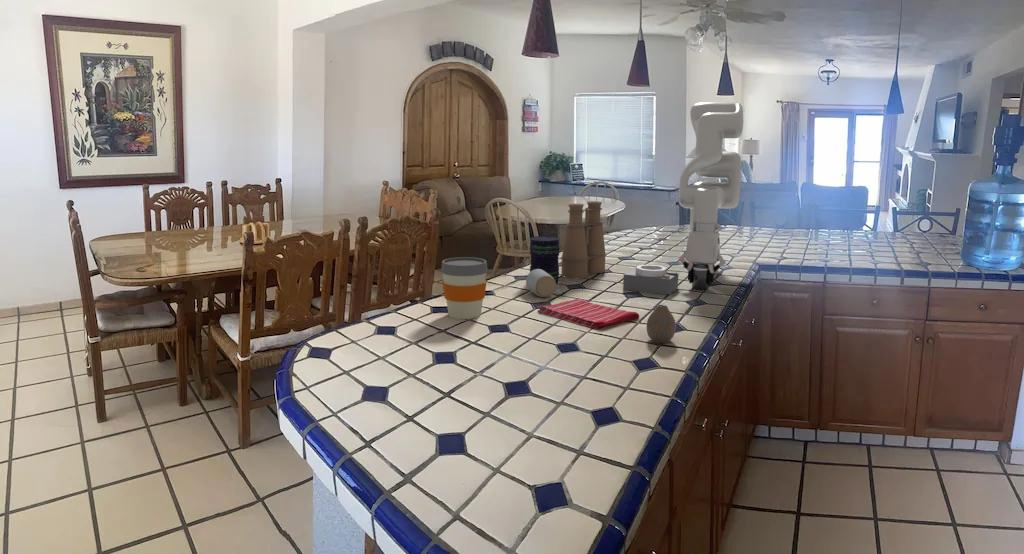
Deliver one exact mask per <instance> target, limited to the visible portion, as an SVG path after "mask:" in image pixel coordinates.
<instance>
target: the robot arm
mask: <svg viewBox="0 0 1024 554" xmlns="http://www.w3.org/2000/svg"><path fill="white" fill-rule="evenodd" d="M689 115H690V123H691V125H692V127H693V128H692V129H693V130H694V134H695V138H696V139H695V140H696V141H695V155H694V157H693V158H692V159H691V160H689V162H688V163H687V164H686V165H685V166H684V168H683V170H682V172H681V175H680V179H679V187H678V203H679V205H680V206H681V207H682V208H684V209H689V210H690V212H689V213H690V214H689V215H690V217H689V219H690V220H689V231H688V232H689V233H688V236H687V241H686V248H685V251H684V252H683V253H682V254H681V255H680V256H679V257H678V261H679V262H680V263H681V264H682V266H683V267H684V268H685V269H686V270H687V280H688V282H689V283H688V284H692V277H693V264H694V263H704V264H708V265H709V269H710V271H709V273H708V285H709V286H711V285H712V284H713V283H714V281H715V280H714V279H715V272H716V271H718V270H719V269H720V268H722V267H723V266H725V265H726V264H727V262H726V260H725V259H724V257H723V256H722V255H721V250H720V249H721V240H720V239H721V238H720V232H719V231H717V230H721V229H722V225H721V224H719V223H718V213H719V212H718V211H719V209H725V210H726V209H727V210H729V209H735V208H737V206H738V205H739V203H740V202H739V201H740V193H741V181H742V180H741V178H742V157H741V155H740V154H739V153H738V152H735V151H723V143H724V141H723V140H724V139H738V138H740V137H741V136H742V133H743V130H744V109H743V106H742V104H741V103H739V102H733V101H732V102H730V101H729V102H727V101H726V102H725V101H724V102H720V101H719V102H714V101H711V102H709V101H708V102H705V101H704V102H697V103H695V104H693V105H692V106H691V108H690V113H689ZM693 174H696V175H697V177H698V178H702V179H703V178H704V179H724V180H726V181H727V182H725V181H722V182H721V181H719V182H718V181H698V182H694V183H693V184H690V185H689V180H690V178H691V176H693ZM717 262H719V263H717Z"/></svg>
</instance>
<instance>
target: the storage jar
mask: <svg viewBox="0 0 1024 554" xmlns="http://www.w3.org/2000/svg"><path fill="white" fill-rule="evenodd" d="M529 239H530V240H529V241H530V242H529V243H530V245H529V255H530V267H529V273H530V272H531V271H532V270H535V269H541V270H544V271H545V272H546V273H548V274H549V275H551V276H552V277H553V278H554V280H555V281H556V285H558V284H559V283H558V282H560V281H559V278H560V277H559V276H560V266H559V256H560V249H561V248H560V237H557V236H551V235H538V236H532V237H530V238H529ZM557 283H558V284H557Z"/></svg>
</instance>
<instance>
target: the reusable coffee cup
mask: <svg viewBox="0 0 1024 554" xmlns="http://www.w3.org/2000/svg"><path fill="white" fill-rule="evenodd" d="M440 272H441V274H442V278H443V281H442V283H441V284H442V288H443V295H444V299H445V300H446V307H447V314H448V316H449V317H450V318H451V319H457V320H458V319H459V320H471V319H476V318H480V317H481V315H482V310H483V309H482V308H483V302H484V300H483V299H485V296H486V288H487V280H486V276H487V273H488V262H487V260H486V259H484V258H481V257H470V256H467V257H466V256H464V257H463V256H461V257H459V256H458V257H451V258H445V259H443V260H442V261H441V269H440Z"/></svg>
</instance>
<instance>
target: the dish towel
mask: <svg viewBox="0 0 1024 554" xmlns="http://www.w3.org/2000/svg"><path fill="white" fill-rule="evenodd" d="M537 312H538V313H541V314H543V313H544V315H546V314H547V315H546V316H549V315H550V316H549V317H553V318H556V319H560V320H564V321H566V322H569V323H572V324H573V323H574V324H577V325H580V326H584V327H588V328H591V329H594V330H602V329H603V330H604V329H606V328H609V327H610V328H611V327H613V326H616V325H620V324H625V323H628V322H631V321H635V320H639V318H640V314H639V313H638V312H636V311H630V310H629V311H628V310H624V309H619V308H615V307H611V306H606V305H603V304H602V305H601V304H597V303H593V302H590V301H587V300H584V299H580V298H574V299H571V300H566V301H562V302H559V303H558V302H557V303H555V304H551V305H540V306H539V310H537Z"/></svg>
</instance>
